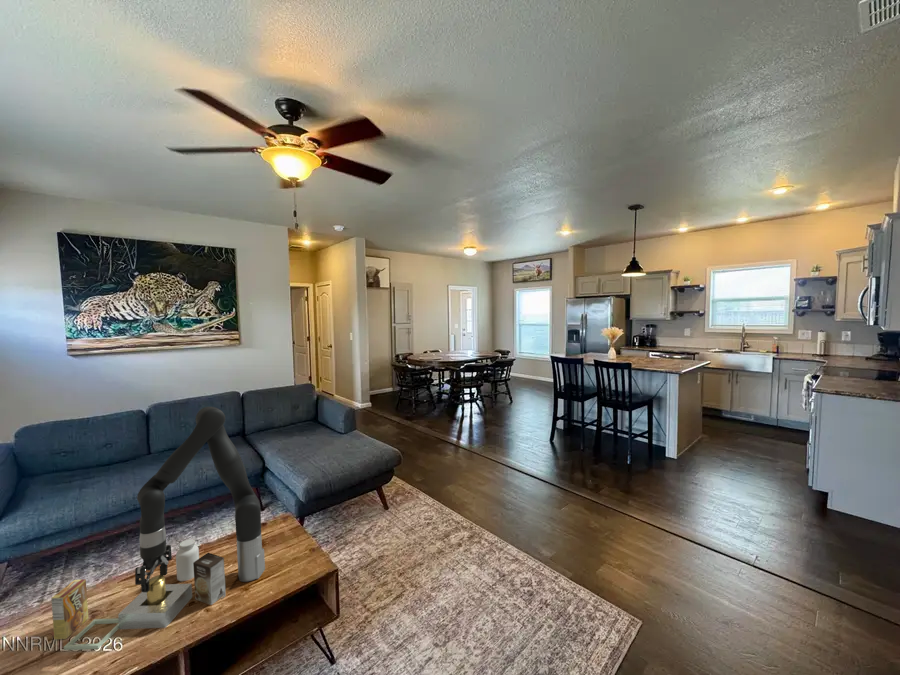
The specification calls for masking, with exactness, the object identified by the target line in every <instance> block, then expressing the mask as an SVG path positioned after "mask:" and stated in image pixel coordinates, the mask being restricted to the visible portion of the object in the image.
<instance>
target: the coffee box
mask: <svg viewBox="0 0 900 675" xmlns="http://www.w3.org/2000/svg"><path fill="white" fill-rule="evenodd" d="M193 566H194V578H193V580H194V581H193V582H194V596H195V597H194V598H195V601H199V602H201V603H205V604H207V605H210V606H213V605H214V604H215V603H216V602H218V600H223V599H224V598H225V597H226V574H225V557H223V556H220V555H217V554H213V553H210V552H207V553H205V554H204V555H202V556H201V557H199V559H198V560H196V561H195V562H194V563H193Z"/></svg>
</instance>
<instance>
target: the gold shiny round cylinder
mask: <svg viewBox="0 0 900 675" xmlns="http://www.w3.org/2000/svg"><path fill="white" fill-rule="evenodd" d="M165 584H166V577H165V576H163V575H160V574H158V575H156V576H153V577H150V579H149V586H150V590H149V591H148V592H147V603H148V606H153V605H160V604H161V603H162V602H163V601H164V600H165V599H166V586H165Z"/></svg>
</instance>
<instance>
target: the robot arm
mask: <svg viewBox="0 0 900 675" xmlns="http://www.w3.org/2000/svg"><path fill="white" fill-rule="evenodd" d="M225 422H226V415H225V413H224V411H222V410H221V409H219V408H217V407H216V406H215V407H214V406H205V407H202V408H201V409H199V410H198V411H197V412H196V416H195V423H196V425H195V427H194V428H193V431H192V432H191V433H190V435H189V436H188V437H187V438H186V439H185V441H184V442H182V444H181V445H179V447H177V448H176V449H175V450H174V451H173V452H172V453H171V455H169V456H168V458H167V459H166V460H165V461H164V462H163V464H162V465H161V467H160V468H159V469H158V470H157V471H156V473H155V474H154V475H153V476H152V477H151V478H149V479H148V480H147V481H146V483H145V484H144V485H142V487H141V488H140V489H139V491H138V493H137V496H136V499H137V500H136V501H137V502H138V504H139V506H140V519H139V541H138V542H139V555H140V558H141V559H142V560H143V562H142V565H140V566H137V567H136V568H135V569H134V576H135V577H134V585H136V586H140V588H141V589H140V591H141V592H148V591H149V590H150V586H149V580H150V579H151V576H152V575H153V574H154V572H155V570H156V569H157V567H159V575H163V576H164V577H165V576H167V574H168V565H169V561H171V560H172V558H173V556H172V554H173V553H172V546H171V545H170V544H167V534H166V533H167V532H166V531H167V530H166V526H165V525H166V524H165V514H164V513H165V506H166V497H165V493H164V491H165V489H166V488H167V487H168V486H169V485H170V484H173V483H175V482H176V481H177V480H178V479H179V477H180V476H181V475H182V474H183V472H184V470H185V469H186V468H187V467H188V466H189V464H190V463H191V461H193V459H194V457H196V455H197V453H198V452H199V451H200V450H201V449H202V448H203V447H204V446H205V444H206V443H207V446H208V449H209V452H210V456H211V459H212V461H213V465H214V467H215V470H216V471H217V474H218V476H219V478H220V480H221V481H222V482H223V485H224V486H226V488H227V489H228V490H229V491H230V493H231V496H232V500H233V504H234V520H235V522H234V523H235V537H236V556H237V571H238V572H237V575H238V580H239V581H240V582H244V583H246V582H248V583H249V582H251V581H254V580H259V578H260V577H261V576H262V574H263V573H264V571H265V570H266V563H265V562H266V561H265V558H266V557H265V549H264V548H263V543H262V541H263V540H262V538H263V537H262V517H261V516H262V515H261V514H262V512H261V504H260V503H261V502H260V499H259V498H258V497H257V494H256V493H255V492H254V489H253V488H252V486H251V484H250V482H249V478H248V474H247V471H246V467H245V464H244V462H243V460H242V457H241V455H240V452H239V451H238V449H237V447H236V446H235V444H234V443H233V442H232V440H231V439H230V437H229V435H228V434H227V431H226V428H225ZM147 571H148V572H147Z"/></svg>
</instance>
